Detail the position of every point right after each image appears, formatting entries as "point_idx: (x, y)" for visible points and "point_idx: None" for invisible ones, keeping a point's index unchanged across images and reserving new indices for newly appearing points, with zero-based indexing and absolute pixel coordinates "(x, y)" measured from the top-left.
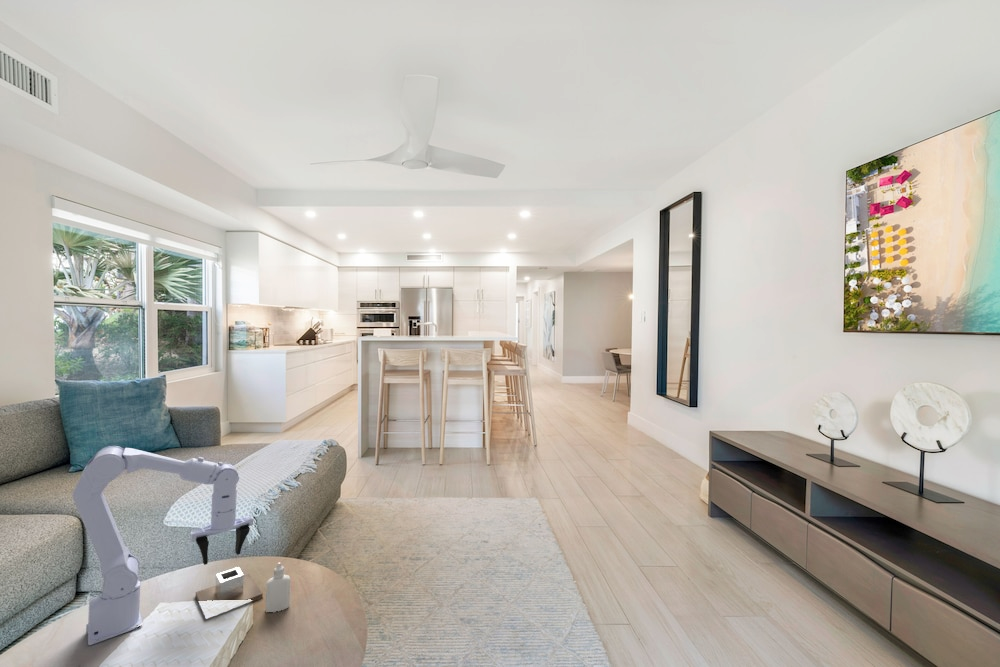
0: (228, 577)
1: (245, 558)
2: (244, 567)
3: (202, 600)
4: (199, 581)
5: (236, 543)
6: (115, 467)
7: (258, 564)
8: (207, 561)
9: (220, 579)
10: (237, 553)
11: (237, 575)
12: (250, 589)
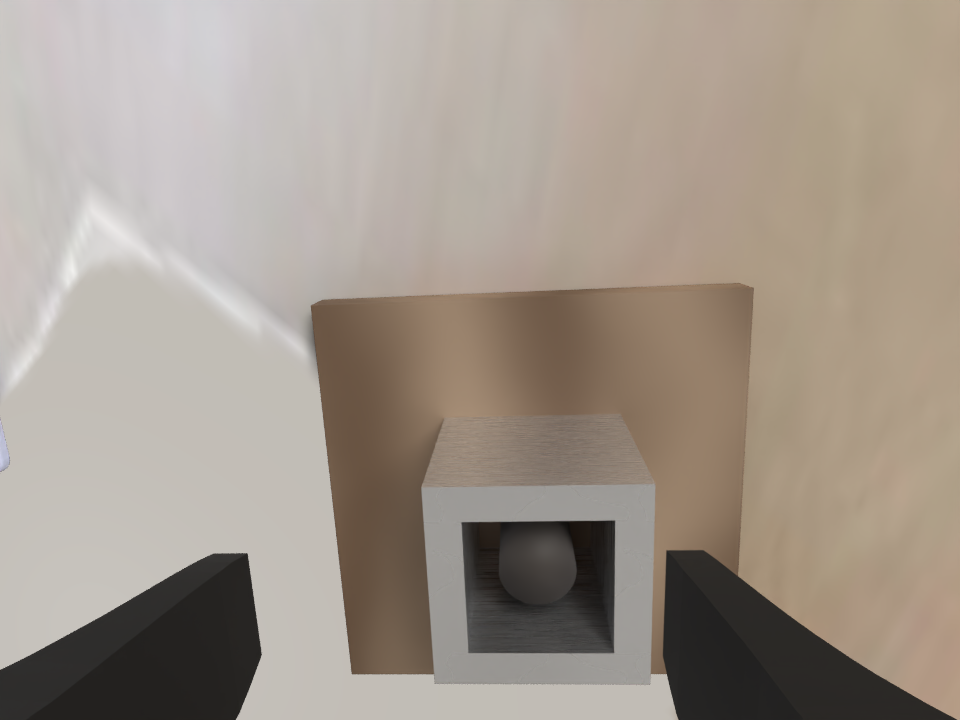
0: (530, 547)
1: None
2: (776, 21)
3: (347, 472)
4: (370, 26)
5: (724, 667)
6: None
7: (907, 54)
8: (242, 699)
9: (443, 622)
10: (669, 680)
11: (597, 658)
12: None
